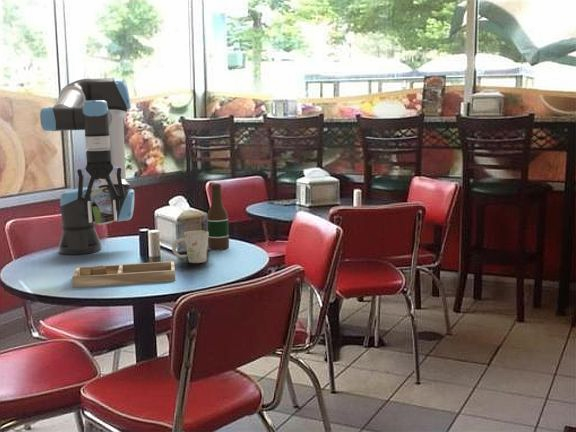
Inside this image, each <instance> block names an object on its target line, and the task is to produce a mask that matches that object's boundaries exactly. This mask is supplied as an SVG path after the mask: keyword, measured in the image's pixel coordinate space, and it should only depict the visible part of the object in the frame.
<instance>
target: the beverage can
mask: <svg viewBox="0 0 576 432" xmlns="http://www.w3.org/2000/svg"><path fill="white" fill-rule="evenodd" d="M92 189H93V188H92ZM90 199H91V204H92V209H93V214H94V219H95V224H96V225H98V226H101V225H102V226H104V225H108V224H112V223H113V222H114V221H113V220H114V215H113V210H112V205H111V199H110V194H109V191H108V190H107V188H106V187H104V188H99V187H98V188H94V189H93V190H91V192H90Z"/></svg>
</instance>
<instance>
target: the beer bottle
mask: <svg viewBox="0 0 576 432" xmlns="http://www.w3.org/2000/svg"><path fill="white" fill-rule="evenodd" d="M210 187H211V204H210V207H209V209H208V211H207V214H206V225H207V228H206V229H207V231H208V233H209V234H208V246H207V248H208V249H210V250H212V251H221V250H226V249H228V248H229V247H230V233H229V230H230V229H229V215H228V211H227V209H226V208H225V206H224V205H223V198H222V189H221V188H222V184H221V183H212V184H211V185H210Z"/></svg>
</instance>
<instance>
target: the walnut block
mask: <svg viewBox="0 0 576 432" xmlns="http://www.w3.org/2000/svg"><path fill="white" fill-rule="evenodd" d="M104 266H105V265H94V267H90V275H105V274H107V269H106V267H104Z"/></svg>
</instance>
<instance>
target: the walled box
mask: <svg viewBox="0 0 576 432" xmlns="http://www.w3.org/2000/svg"><path fill="white" fill-rule="evenodd" d="M94 266H95V265H94ZM94 266H90V265H89V266H77V267H76V269H75V271H74V272H73V274H72V277H71V282H72V288H81V287H82V288H84V287H85V288H86V287H97V286H99V287H100V286H113V285H115V286H116V285H127V284H129V285H130V284H143V283H144V284H145V283H158V282H159V283H160V282H171V281H172V282H173V281H176V270H175V267H176V266H175V261H174V260H171V261H170V260H169V261H156V262H139V263H124V264H121V263H120V264H110V265H109V264H108V265H107V264H106V265H103V266H104V267H106V269H107V274H105V275H90V267H94Z"/></svg>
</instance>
